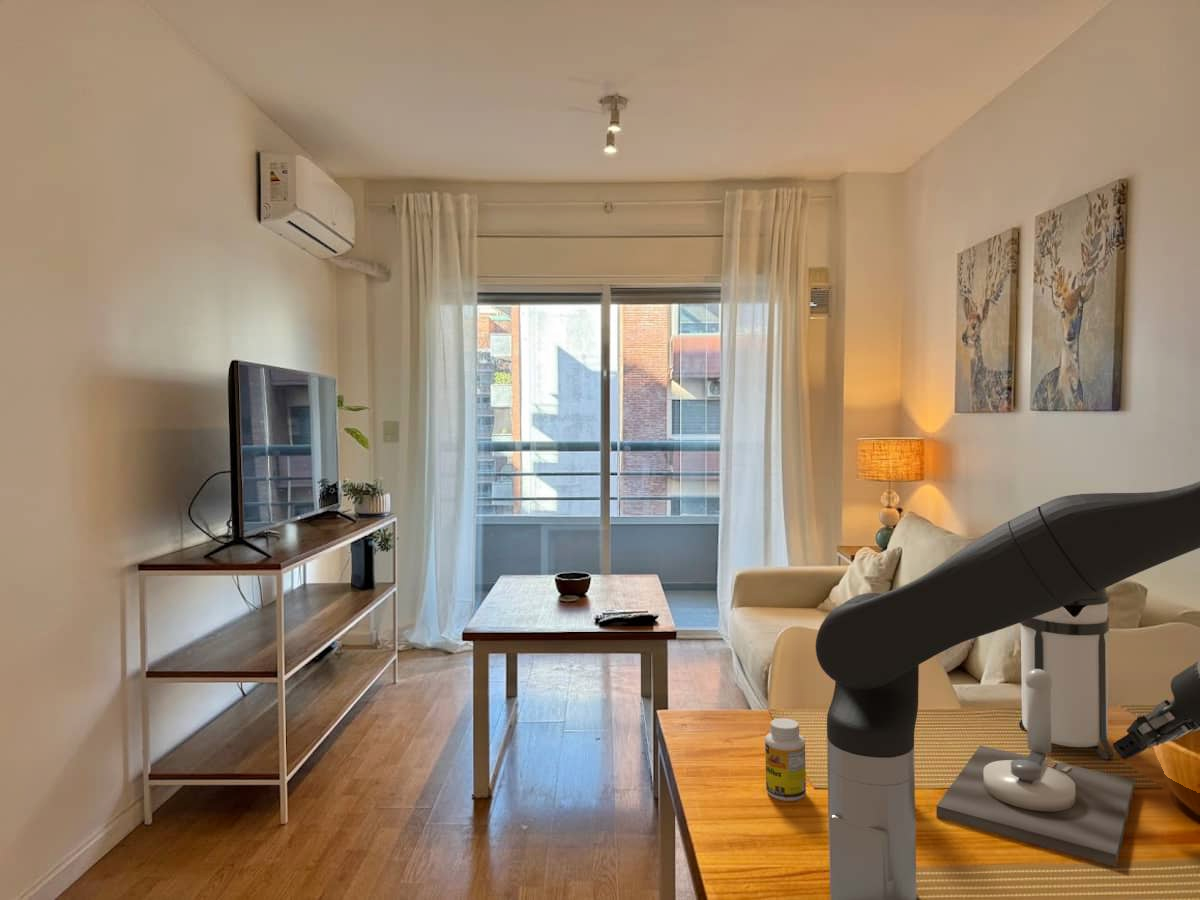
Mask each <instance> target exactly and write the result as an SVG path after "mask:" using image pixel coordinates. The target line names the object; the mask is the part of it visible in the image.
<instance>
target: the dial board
mask: <svg viewBox="0 0 1200 900" xmlns="http://www.w3.org/2000/svg"><path fill="white" fill-rule="evenodd" d="M1028 756H1029V755H1025V754H1021V753H1016V752H1012V751H1006V750H1003V749H999V748H994V747H990V746H989V747H988V746H984V745H979V746H978V747H977V749H976V750H975V752H974V753H973V755H972V756H971V757H970V759H969V760H968V761H967V763H966V764H965V766H964V767H963V768H962V769H961V771H960V772H959V774H958V775H957V776H956V778H955V780H954V781H953V782H952V783H951V785H950V786H949V788H948V789H947V791H945V793H944V795H943V796H942V797H941V799H940V800H939V802H938V803H937V805H936V807H935V810H936V812H935V813H936V814H935V815H936V818H939V819H943V820H946V821H949V822H953V823H957V824H959V825H960V824H961V825H963V826H968V827H972V828H974V829H978V830H982V831H985V832H989V833H993V834H997V835H999V836H1003V837H1007V838H1010V839H1014V840H1018V841H1021V842H1025V843H1028V844H1032V845H1035V846H1039V847H1043V848H1046V849H1050V850H1054V851H1057V852H1061V853H1064V854H1068V855H1071V856H1074V857H1079V858H1081V857H1082V859H1084V860H1085V859H1087V860H1089V861H1093V862H1096V861H1097V863H1099V862H1101V863H1100V864H1103V863H1104V864H1103V865H1106V864H1108V865H1107V866H1110V865H1112V866H1111V867H1114V866H1115V867H1114V868H1117V866H1118V861H1119V857H1120V852H1121V848H1122V844H1123V839H1124V835H1125V831H1126V826H1127V821H1128V818H1129V813H1130V808H1131V804H1132V799H1133V795H1134V791H1135V779H1134V778H1130V777H1126V776H1122V775H1118V774H1113V773H1108V772H1103V771H1099V770H1094V769H1090V768H1086V767H1080V766H1076V765H1071V764H1066V763H1063V762H1059V761H1058V762H1057V761H1054V760H1048V759H1045V760H1044V762H1043V764H1042V765H1045V766H1048V767H1051V768H1053V769H1056V770H1058V771H1060V772H1062V773H1064V774H1066V775H1067V776H1069V777H1070V778H1071V779H1072V780H1073V781H1074V783H1075V804H1074V806H1072V807H1071V808H1069V809H1066V810H1062V811H1053V812H1045V811H1035V810H1029V809H1024V808H1020V807H1016V806H1013V805H1010V804H1007V803H1005V802H1002V801H1000V800H998V799H996V798H995V797H993V796H992V795H990V794H989V793H988V792H987V791H986V790H985V788H984V772H983V771H984V767H985V766H986V765H987V764H989V763H992V762H995V761H1002V760H1027V758H1028Z"/></svg>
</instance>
